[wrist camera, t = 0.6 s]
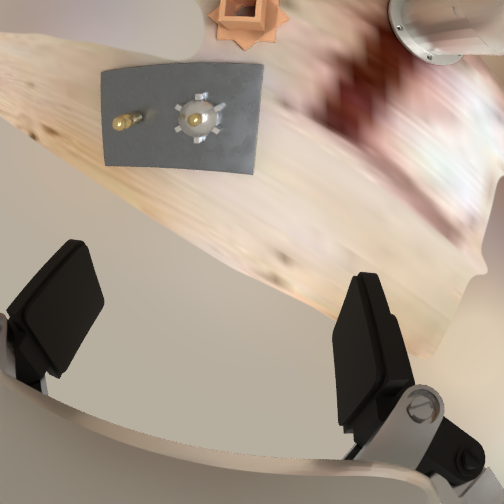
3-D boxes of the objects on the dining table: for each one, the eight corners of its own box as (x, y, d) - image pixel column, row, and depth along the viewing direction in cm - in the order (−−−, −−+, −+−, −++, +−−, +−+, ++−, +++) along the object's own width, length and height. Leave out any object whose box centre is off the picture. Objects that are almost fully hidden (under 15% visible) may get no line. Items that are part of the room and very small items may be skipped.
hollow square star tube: (212, -15, 24) (198, -31, 19) (292, -12, 24) (293, -30, 18) (206, 50, 30) (190, 45, 24) (285, 54, 30) (285, 48, 24)
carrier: (106, 71, 32) (78, 74, 26) (263, 65, 31) (259, 62, 25) (110, 163, 40) (85, 178, 35) (254, 171, 39) (248, 189, 34)
